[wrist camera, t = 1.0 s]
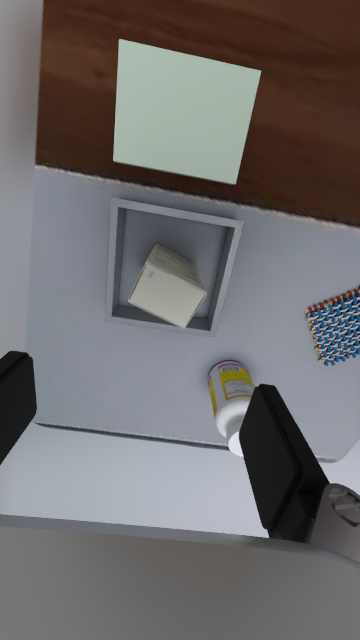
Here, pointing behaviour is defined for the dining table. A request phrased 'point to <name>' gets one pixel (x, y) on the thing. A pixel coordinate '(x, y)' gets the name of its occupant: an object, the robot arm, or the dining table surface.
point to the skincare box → (168, 287)
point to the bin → (115, 260)
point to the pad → (182, 112)
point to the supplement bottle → (230, 400)
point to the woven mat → (336, 327)
